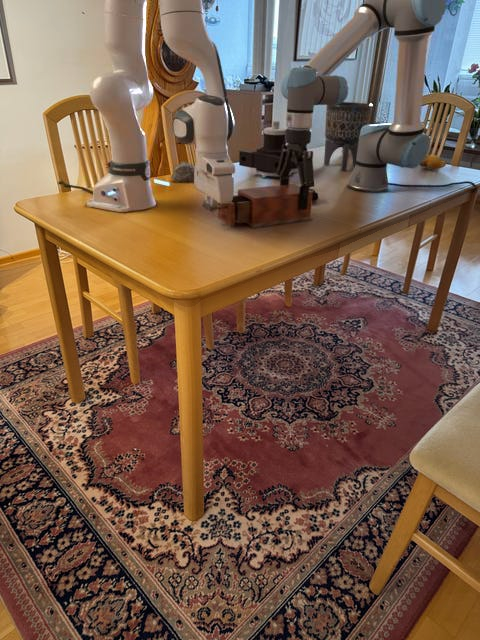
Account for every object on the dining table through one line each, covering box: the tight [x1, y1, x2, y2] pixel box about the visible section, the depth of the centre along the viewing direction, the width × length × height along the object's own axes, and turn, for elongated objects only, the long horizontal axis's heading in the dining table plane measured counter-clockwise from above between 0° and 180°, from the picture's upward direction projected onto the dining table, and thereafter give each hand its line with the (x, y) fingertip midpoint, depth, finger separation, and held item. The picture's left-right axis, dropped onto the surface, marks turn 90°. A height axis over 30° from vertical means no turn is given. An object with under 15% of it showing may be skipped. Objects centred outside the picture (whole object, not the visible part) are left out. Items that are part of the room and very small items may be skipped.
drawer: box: [202, 194, 252, 227], centre depth 135 cm, size 24×10×7 cm, turn 115°
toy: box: [418, 154, 447, 171], centre depth 211 cm, size 11×6×15 cm
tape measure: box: [309, 188, 319, 202], centre depth 158 cm, size 7×7×4 cm
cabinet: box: [237, 183, 313, 228], centre depth 139 cm, size 20×11×9 cm, turn 115°
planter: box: [323, 101, 374, 172], centre depth 204 cm, size 20×20×26 cm
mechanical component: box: [238, 120, 303, 178], centre depth 191 cm, size 22×21×30 cm
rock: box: [170, 161, 195, 183], centre depth 180 cm, size 13×9×6 cm, turn 131°
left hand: (212, 211), depth 132 cm, fingers closed, pressing on drawer
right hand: (292, 204), depth 142 cm, fingers closed on cabinet, 11 cm apart
